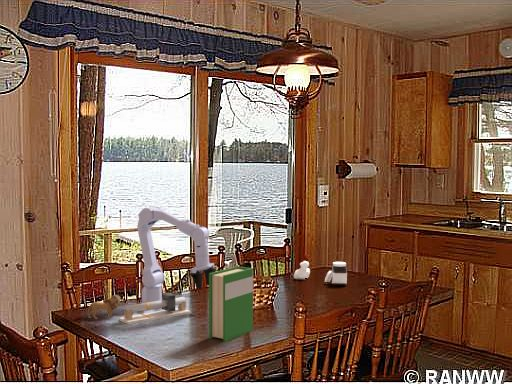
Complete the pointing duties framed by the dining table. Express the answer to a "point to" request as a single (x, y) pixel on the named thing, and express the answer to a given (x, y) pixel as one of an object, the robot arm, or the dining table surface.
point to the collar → (169, 301)
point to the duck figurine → (302, 271)
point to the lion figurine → (104, 306)
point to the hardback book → (230, 302)
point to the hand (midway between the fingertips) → (204, 287)
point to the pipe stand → (153, 315)
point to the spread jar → (337, 274)
